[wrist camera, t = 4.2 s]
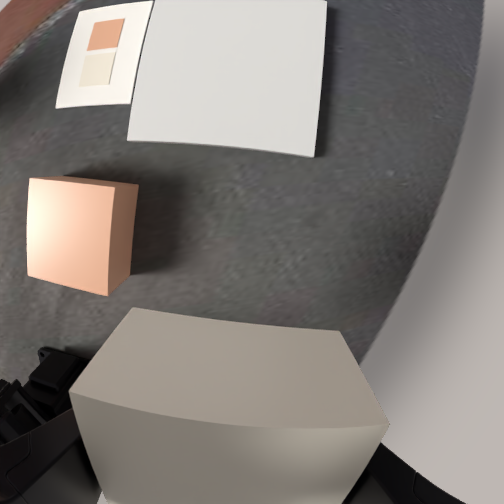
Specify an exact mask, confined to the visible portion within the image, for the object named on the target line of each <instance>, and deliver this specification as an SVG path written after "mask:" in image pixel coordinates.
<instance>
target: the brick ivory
mask: <svg viewBox="0 0 504 504" xmlns="http://www.w3.org/2000/svg"><path fill="white" fill-rule="evenodd" d="M69 395H70V399H71V403H72V406H73V410H74V413H75V417H76V420H77V424H78V427H79V430H80V433H81V436H82V439H83V442H84V445H85V448H86V451H87V454H88V457H89V459H90V462H91V465H92V467H93V470H94V472H95V475H96V477H97V480H98V482H99V484H100V487H101V489H102V491H103V494H104V496H105V498H106V500H107V502H108V504H341V503H342V502H343V501H344V499H345V498H346V496H347V495H348V493H349V492H350V490H351V489H352V488H353V486H354V485H355V483H356V481H357V480H358V478H359V477H360V475H361V474H362V472H363V471H364V469H365V467H366V466H367V464H368V462H369V461H370V459H371V457H372V456H373V454H374V452H375V451H376V449H377V447H378V445H379V444H380V442H381V440H382V438H383V436H384V435H385V433H386V431H387V429H388V427H389V425H390V423H389V421H388V420H387V418H386V416H385V414H384V412H383V410H382V408H381V406H380V405H379V402H378V401H377V399H376V397H375V395H374V393H373V392H372V389H371V387H370V386H369V384H368V382H367V380H366V378H365V376H364V375H363V373H362V371H361V369H360V367H359V365H358V364H357V362H356V360H355V358H354V356H353V354H352V353H351V351H350V349H349V347H348V345H347V344H346V342H345V340H344V338H343V337H342V335H341V333H340V331H331V330H316V329H303V328H291V327H280V326H269V325H259V324H250V323H240V322H232V321H223V320H215V319H208V318H200V317H193V316H186V315H179V314H172V313H166V312H159V311H153V310H147V309H141V308H135V307H132V309H131V310H130V311H129V312H128V314H127V315H126V316H125V317H124V319H123V320H122V321H121V322H120V324H119V325H118V326H117V327H116V329H115V330H114V331H113V333H112V334H111V335H110V336H109V338H108V339H107V340H106V342H105V343H104V344H103V345H102V347H101V348H100V349H99V351H98V352H97V353H96V355H95V356H94V357H93V359H92V360H91V361H90V363H89V364H88V365H87V367H86V368H85V369H84V371H83V372H82V373H81V375H80V376H79V377H78V379H77V380H76V381H75V383H74V384H73V386H72V387H71V388H70V390H69Z"/></svg>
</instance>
